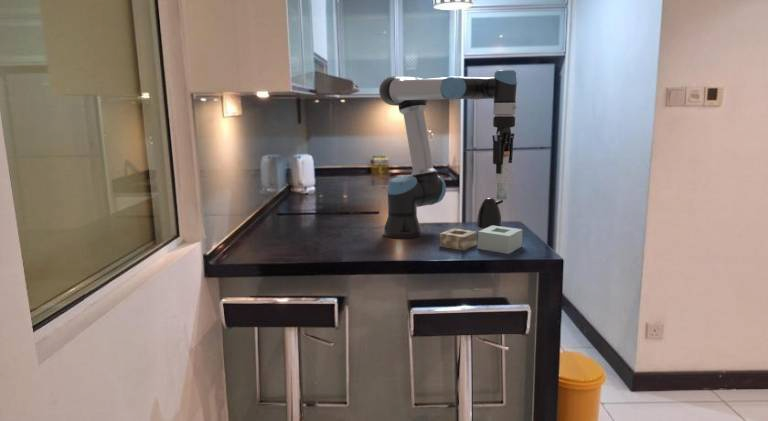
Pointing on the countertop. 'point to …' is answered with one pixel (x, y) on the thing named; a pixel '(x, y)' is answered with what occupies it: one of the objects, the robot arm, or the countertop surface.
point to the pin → (503, 187)
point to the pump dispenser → (489, 214)
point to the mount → (458, 239)
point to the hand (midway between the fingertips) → (502, 181)
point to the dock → (500, 239)
